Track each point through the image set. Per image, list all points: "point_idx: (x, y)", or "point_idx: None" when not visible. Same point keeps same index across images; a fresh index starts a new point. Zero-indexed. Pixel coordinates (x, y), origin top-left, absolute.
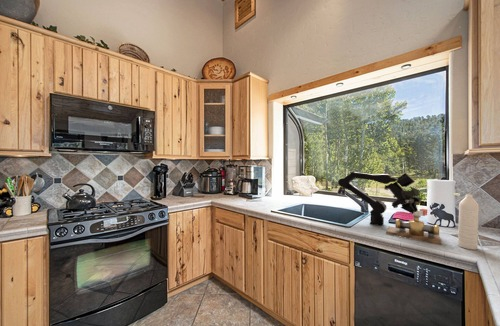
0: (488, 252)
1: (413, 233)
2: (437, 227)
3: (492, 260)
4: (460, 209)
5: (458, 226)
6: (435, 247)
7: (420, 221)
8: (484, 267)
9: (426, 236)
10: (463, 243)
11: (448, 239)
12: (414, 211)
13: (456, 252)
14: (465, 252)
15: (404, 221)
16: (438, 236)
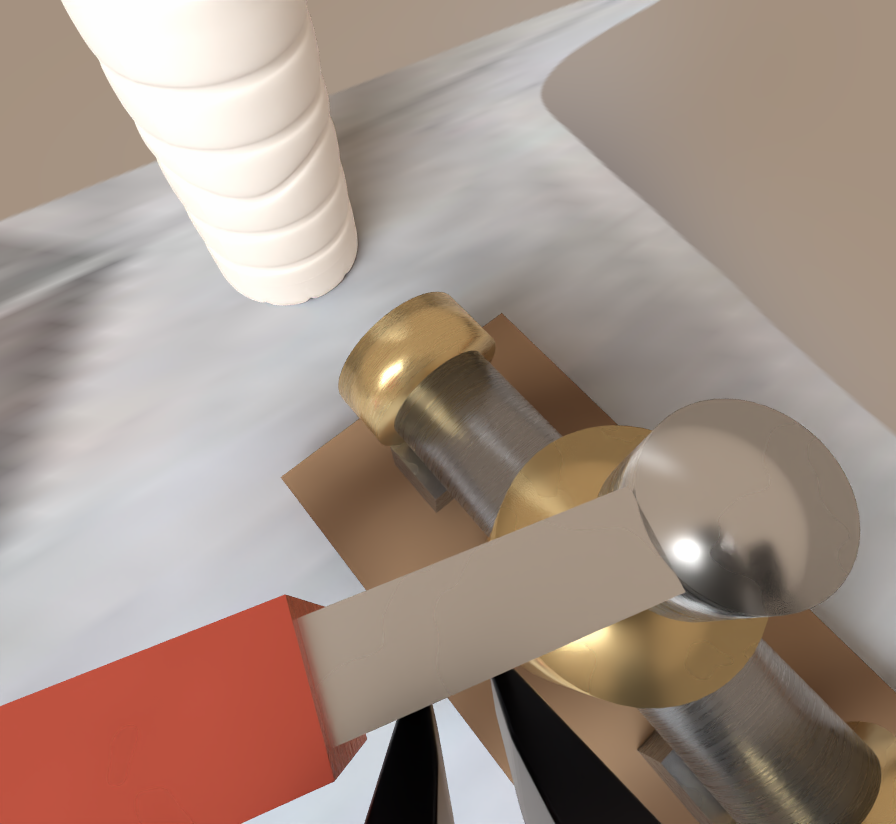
0: None
1: None
2: (451, 304)
3: (409, 75)
4: None
5: (276, 116)
6: (621, 292)
7: None
8: (586, 33)
9: None
10: (351, 209)
11: (232, 431)
12: (766, 590)
13: (530, 192)
14: (451, 181)
15: (786, 750)
16: (352, 439)
